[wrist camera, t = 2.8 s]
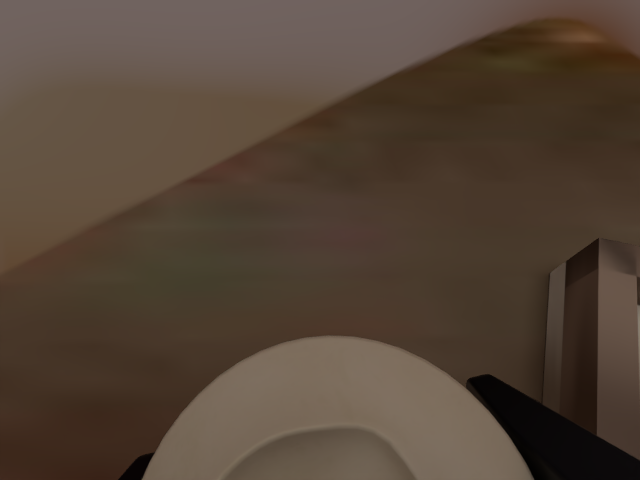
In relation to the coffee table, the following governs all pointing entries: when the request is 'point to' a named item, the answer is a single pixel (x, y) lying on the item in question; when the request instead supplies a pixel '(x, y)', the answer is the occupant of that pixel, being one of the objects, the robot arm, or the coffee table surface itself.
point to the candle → (336, 420)
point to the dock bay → (596, 342)
